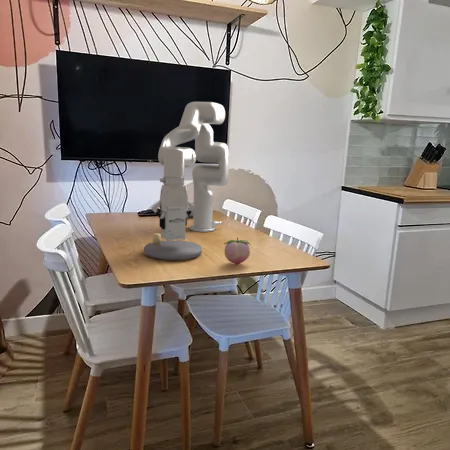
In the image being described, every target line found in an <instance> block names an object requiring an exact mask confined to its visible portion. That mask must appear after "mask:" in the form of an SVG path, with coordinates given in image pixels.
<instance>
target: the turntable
mask: <svg viewBox="0 0 450 450" xmlns="http://www.w3.org/2000/svg"><path fill="white" fill-rule="evenodd" d="M161 238H162V237H161V233H159V232H158V233H153V234H152V242H150V243H147V244H145V245H144V246H143V254H144V255H146V257H147V256H148V257H150V258H154V259H158V260H166V261H167V260H172V261H173V260H174V261H175V260H176V261H177V260H187V259H192V258H193V259H194V258H196V257H199V256H200V255H202V252H203V251H202V250H203V247H202V246H201V245H200V244H197V243H195V242H192V241H187V240H186V241H184V240H168V241H167V240H162V239H161Z"/></svg>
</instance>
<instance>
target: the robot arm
mask: <svg viewBox="0 0 450 450" xmlns="http://www.w3.org/2000/svg"><path fill="white" fill-rule="evenodd" d="M225 119H226V110H225V107H224V105H222V104H220V103H218V102H213V101H192V102H191V101H190V102H189V103H187V104H186V105H185V108H184V111H183V113H182V117H181V120H180V123H179V126H177V127H175V128H174V129H172V130H171V131H169V133H167V134H165V135H164V137H163V139H162V141H161V144H160V147H159V148H158V149H159V150H158V154H157V158H158V162H159V164H160V165H161V166H163V177H162V178H159V182H160V183H163V184H161V187H160V192H159V193H160V194H159V195H160V196H159V201H158V202H156V204H154V205H153V206H152V207H151V210H152V211H153V212H154V214H155V215H156V216H157V217H158V218H159V224H158V225H159V228H160V229H161V228H162V229H165V219H164V216H165V213H167V207H186V211H187V212H186V225H185V229H187V228H186V227H187V225H188V218H189V217H188V216H189V215H190V214H191V213H192V211H193V217H192V218H193V219H192V225H190V226H189V229H190V230H191V231H194V232H201V233H207V232H208V233H209V232H214V231H215V230H216V226H222V221H217V220H214V219H213V217H214V216H213V214H214V213H213V211H214V193H213V190H212V189H211V188H210V186H218V187H221V186H226V185H227V184H228V183H229V176H230V174H229V173H230V172H229V171H230V150H229V147H228V144H227V143H225V142H219V141H214V129H213V128H212V126H211V125H222V124H223V123H224V121H225ZM193 140H194V142H195V143H194V148H195V149H193V148H191V147H186V146H183V147H182V146H178V145H182V144H185V143H187V142H190V141H193ZM196 161H198V162H200V163H212V164H197V165H195V166H194V167H193V165H194V164H195V163H196ZM213 163H215V164H218V165H213ZM191 167H193V169H192V170H191V176H192V183H193V201H194V206H193V205H192V204H190V203H189V202H188V201H189V198H188V187H187V185H185V168H191ZM188 206H189V207H190V208H189V210H188ZM158 208H159V210H160V212H159V211H158Z"/></svg>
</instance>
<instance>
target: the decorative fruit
mask: <svg viewBox="0 0 450 450" xmlns="http://www.w3.org/2000/svg"><path fill="white" fill-rule="evenodd" d="M249 245H252V244H251V243H250V242H249V241H248V240H246V239H240V240H239V237H237V238H236V239H235V240H234V239H230V240H227V241H226V242H224V246H225V247H224V257H225V258H226V259H227V260H228V261H229V262H230V263H232V264H234V265H239V264H241V263H244V262H246V260H247V259H248V258H249V257H250V255H251V250H250V249H251V248H250V246H249Z"/></svg>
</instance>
